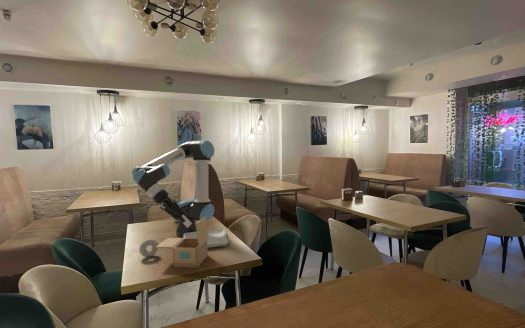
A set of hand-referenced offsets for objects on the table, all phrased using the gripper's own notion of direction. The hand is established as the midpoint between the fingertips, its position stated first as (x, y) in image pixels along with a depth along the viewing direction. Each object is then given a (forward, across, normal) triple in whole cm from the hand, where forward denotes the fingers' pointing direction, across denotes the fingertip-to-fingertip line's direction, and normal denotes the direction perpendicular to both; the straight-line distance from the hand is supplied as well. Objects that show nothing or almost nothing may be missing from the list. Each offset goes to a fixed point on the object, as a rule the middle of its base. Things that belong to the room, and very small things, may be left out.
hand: (189, 225), depth 140 cm
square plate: (+12, -30, -16) cm, 36 cm away
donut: (-5, -6, -33) cm, 34 cm away
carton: (+10, -1, -17) cm, 20 cm away
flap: (+6, -1, +2) cm, 7 cm away
